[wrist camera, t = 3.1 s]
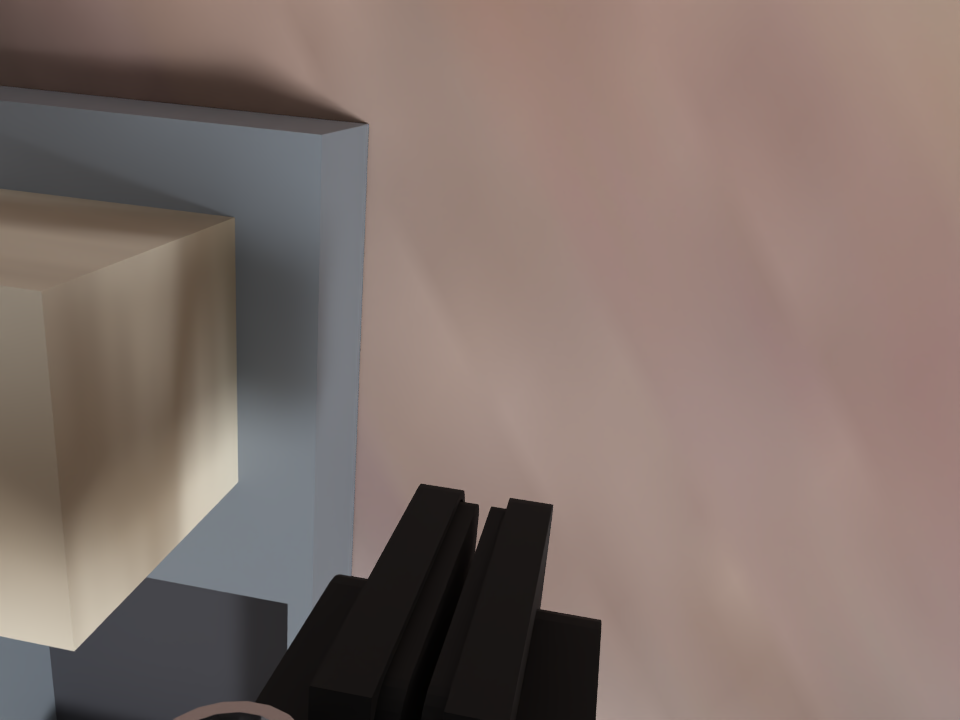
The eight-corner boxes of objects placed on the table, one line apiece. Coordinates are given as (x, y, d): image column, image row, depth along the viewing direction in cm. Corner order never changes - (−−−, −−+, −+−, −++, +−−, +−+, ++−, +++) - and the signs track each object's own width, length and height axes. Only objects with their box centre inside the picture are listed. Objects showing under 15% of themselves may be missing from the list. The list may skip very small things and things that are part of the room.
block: (-33, 184, 15) (-331, 238, 11) (234, 216, 15) (41, 290, 10) (-3, 441, 17) (-249, 586, 12) (238, 482, 16) (74, 651, 12)
